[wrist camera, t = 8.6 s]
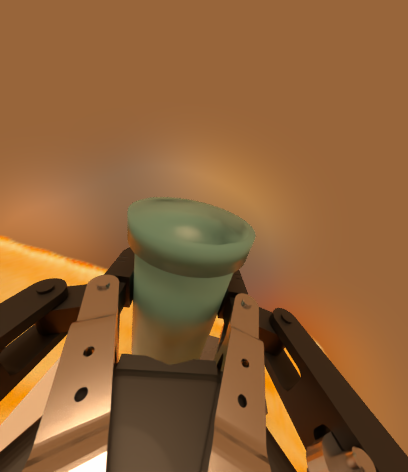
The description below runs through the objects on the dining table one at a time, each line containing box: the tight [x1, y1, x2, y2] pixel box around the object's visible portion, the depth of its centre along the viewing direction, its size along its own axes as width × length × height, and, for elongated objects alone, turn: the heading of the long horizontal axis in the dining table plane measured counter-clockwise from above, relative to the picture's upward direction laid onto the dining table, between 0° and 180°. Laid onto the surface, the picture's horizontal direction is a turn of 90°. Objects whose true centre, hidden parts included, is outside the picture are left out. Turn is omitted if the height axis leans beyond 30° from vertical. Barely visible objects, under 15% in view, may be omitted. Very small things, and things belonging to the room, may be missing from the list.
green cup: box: [127, 197, 255, 365], centre depth 10 cm, size 6×6×10 cm
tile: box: [0, 358, 60, 452], centre depth 15 cm, size 11×11×1 cm
